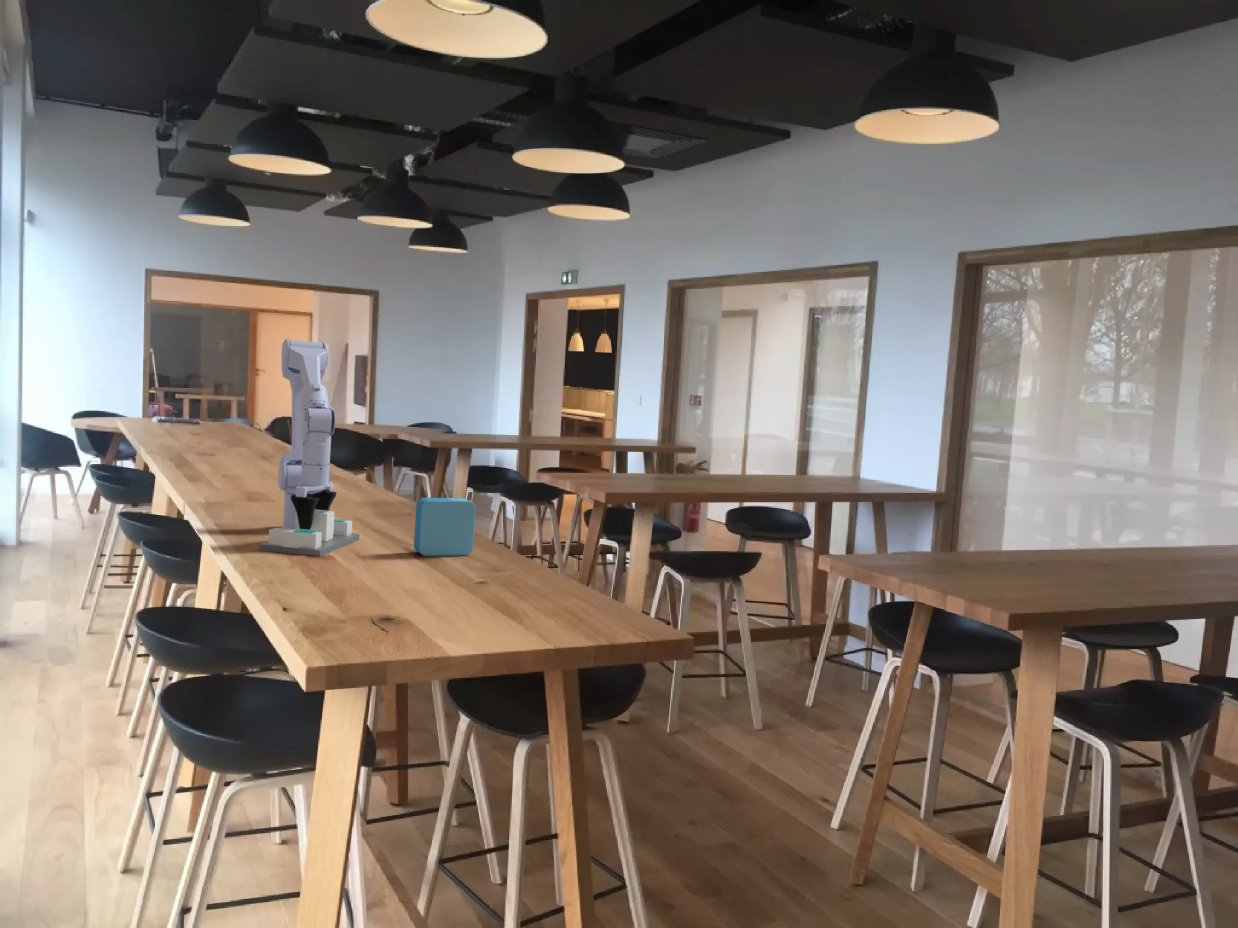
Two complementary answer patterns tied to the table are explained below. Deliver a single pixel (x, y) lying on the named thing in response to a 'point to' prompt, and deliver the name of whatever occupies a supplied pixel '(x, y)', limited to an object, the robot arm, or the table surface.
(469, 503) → the data package
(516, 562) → the table surface
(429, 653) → the table surface
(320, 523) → the block
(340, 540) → the rail board
